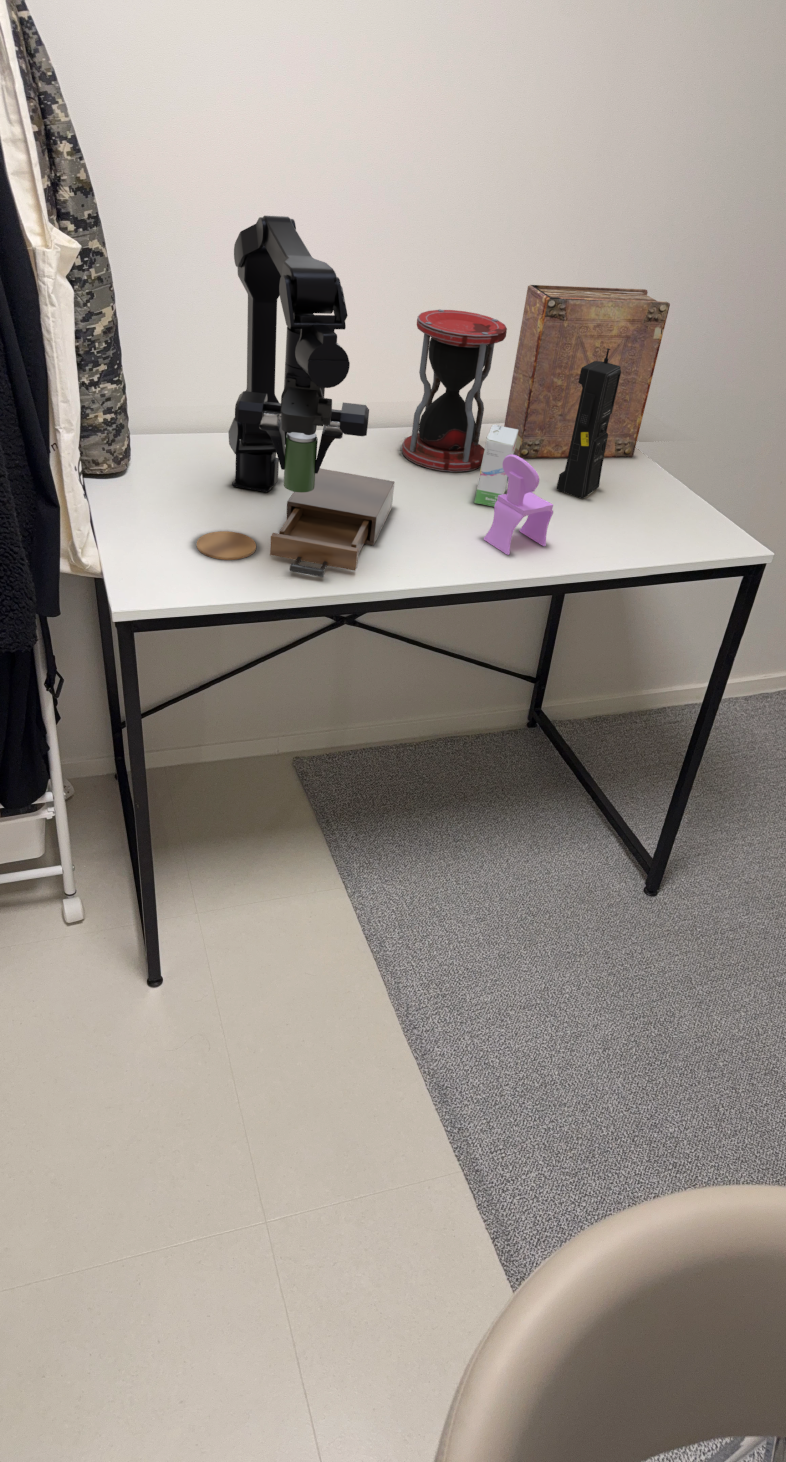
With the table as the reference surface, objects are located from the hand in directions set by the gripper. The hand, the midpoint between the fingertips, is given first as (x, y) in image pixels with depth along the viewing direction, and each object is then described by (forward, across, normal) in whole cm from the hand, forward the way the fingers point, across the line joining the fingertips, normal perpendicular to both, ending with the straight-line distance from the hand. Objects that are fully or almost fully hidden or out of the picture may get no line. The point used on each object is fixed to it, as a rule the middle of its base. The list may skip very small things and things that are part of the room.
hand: (299, 470), depth 154 cm
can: (+2, 0, 0) cm, 2 cm away
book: (+13, +49, +58) cm, 77 cm away
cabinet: (+13, +6, +13) cm, 19 cm away
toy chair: (+13, +35, +11) cm, 39 cm away
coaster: (+13, -10, -1) cm, 17 cm away
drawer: (+12, +4, 0) cm, 13 cm away
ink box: (+13, +32, +29) cm, 45 cm away
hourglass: (+13, +24, +47) cm, 54 cm away
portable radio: (+13, +49, +36) cm, 62 cm away
